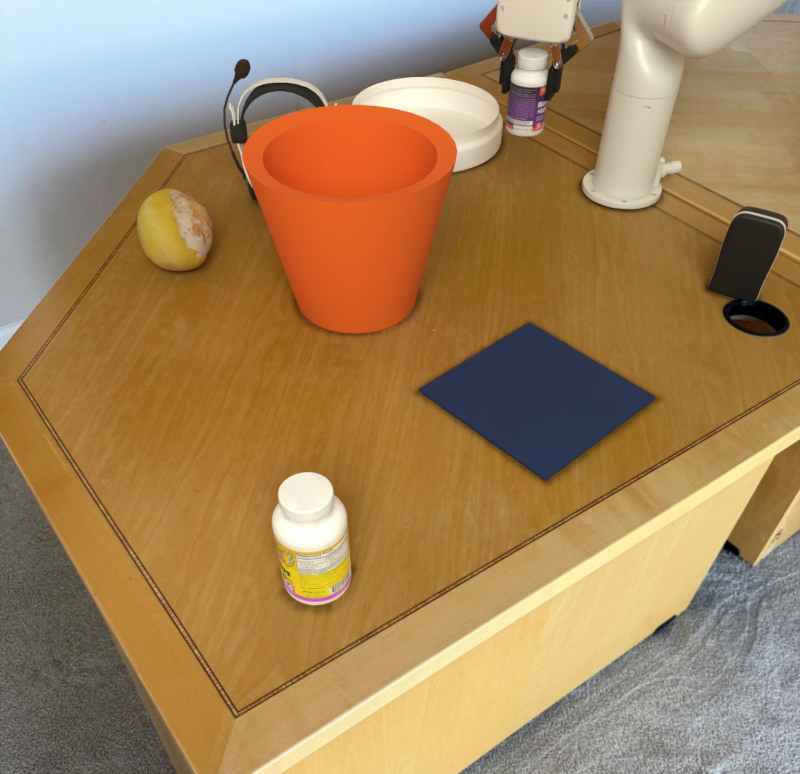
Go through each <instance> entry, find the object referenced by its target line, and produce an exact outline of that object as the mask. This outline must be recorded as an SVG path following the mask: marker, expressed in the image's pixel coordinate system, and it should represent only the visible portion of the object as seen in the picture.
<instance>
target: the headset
mask: <svg viewBox="0 0 800 774" xmlns="http://www.w3.org/2000/svg"><path fill="white" fill-rule="evenodd" d="M251 67H252V66H251V63H250V60H248V59H247V58H240V59H239V60H238V61H237V62H236V63H235V66H234V69H233V71H234V76H233V79H232V83H231V85H230V87H229V89H228V92H227V94H226V97H225V100H224V104H223V109H222V113H223V114H222V118H223V119H222V121H223V130H224V135H225V140H226V143H227V145H228V148H229V150H230V154H231V156H232V160H233V162H234V163H235V165H236V167H237V170H238V171H239V173H241V175H242V179H243V180H244V181H245V182H246V185H247V189H248V193H249V196H250V197H251V198H252V199H253V201H258V200H257V197H256V195H255V192H254V189H253V187H252V184H251V182H250V179H249V176H248V174H247V171H246V169H245V166H244V163H243V159H242V152H243V147H244V145H243V144H245V143H246V142H247V140H248V138H249V137H248V127H247V122H246V120H245V114H246V112H247V110H248V108H249V107H250V106H251V104H252V103H253V102H254V101H256V100H257V99H258V98H260V97H262V96H264V95H266V94H269V93H270V94H271V93H275V92H285V93H290V94H295V95H297V96H299V97H301V98H303V99H305V100H307V101H308V102H309V103H310V104H311V105H312V106H314V108H317V107H325V106H329V103H328V101H327V99H326V97H325V96H324V94H323V92H322V91H320V89H319V88H318V87H316V86H315V85H314V84H311V83H310V82H308V81H304V80H301V79H299V78H292V77H268V78H263V79H260V80H257V81H254V82H252V83H250V85H248V86H246V87H245V88H244V90H243V91H242V92H241V95H240V97H239V100H238V103H237V113H236V110H235V107H234V106H233V105H234V104H232V103H231V102H229V98H230V96H231V94H232V91H233V89H234V88H235V85H236V84H237V83H238V82H239V81H240V80H242V79H246V78H247V77H248V76H249V74H250V72H251ZM251 90H252V91H251ZM250 91H251V92H250ZM248 92H250V93H249V94H248V95H247V98H246V99H245V101H244V104H243V107H242V109H241V103H242V101H243V98H244V96H245V95H246V94H247V93H248ZM228 102H229V103H228ZM227 105H228V106H227ZM334 105H338V103H337V102H334V104H333V106H334ZM227 107H228V109H229V112H230V114H231V121H230V123H229V132H228V129H227V121H226V120H227V117H226V116H227V115H226V113H227V111H226V110H227ZM241 110H242V111H241ZM229 136H230V139H229ZM230 140H231V142H232V144H236V146H237V149H238V152H239V154H240V159H241V164H242V165H241V164H240V161H239V160H238V158H237V155H236V153H235V151H234V149H233V147H232V144H231V142H230Z"/></svg>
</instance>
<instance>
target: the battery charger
mask: <svg viewBox="0 0 800 774" xmlns="http://www.w3.org/2000/svg"><path fill="white" fill-rule="evenodd" d="M788 228H789V220H788V218H787V217H786V216H785V215H784V214H781V213H779V212H775V211H772V210H770V209H769V210H768V209H765V208H760V207H756V206H749V205H747V206H744V207H742V208H739V210H738V211H737V212H736V213H735V215H734V216H733V217H732V219H731V220H730V222H729V225H728V227H727V230H726V233H725V235H724V238H723V239H722V244H721V246H720V250H719V253H718V256H717V259H716V263H715V266H714V268H713V269H714V270H713V272H712V274H711V278H710V280H709V283H708V285H707V289H708V290H709V291H712V292H715V293H718V294H721V295H724V296H728V297H730V298H733V299H737V300H741V301H744V302H745V301H746V302H749V303H755V302H756V301H758V299H759V296H760V294H761V291H762V289H763V286H764V284H765V282H766V280H767V278H768V277H769V273H770V272H771V270H772V267H773V265H774V264H775V261H776V259H777V257H778V255H779V252H780V250H781V249H782V248H781V247H782V246H783V242H784V240H785V239H786V238H785V237H786V234H787V231H788Z"/></svg>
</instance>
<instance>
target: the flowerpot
mask: <svg viewBox="0 0 800 774" xmlns="http://www.w3.org/2000/svg"><path fill="white" fill-rule="evenodd" d="M324 106H325V105H324ZM247 138H248V140H247V142H246V143H244V145H243V151H242V159H243V163H244V166H245V169H246V171H247V174H248V176H249V179H250V182H251V184H252V187H253V189H254V192H255V195H256V197H257V200H256V201H257V202H258V206H259V207H260V211H261V213H262V215H263V218H264V220H265V222H266V226H267V228H268V231H269V233H270V236H271V238H272V242H273V243H274V246H275V249H276V252H277V254H278V257H279V259H280V262H281V264H282V267H283V270H284V273H285V275H286V278H287V281H288V283H289V285H290V288H291V291H292V293H293V296H294V299H295V300H296V303H297V304H296V305H297V307H298V309H299V311H300V312H301V314H302V315H303V317H305V318H306V319H307V320H308V321H309V322H310V323H313V324H314V325H315V326H318V327H319V328H322V329H325V330H328V331H331V332H336V333H342V334H353V335H354V334H368V333H374V332H380V331H382V330H386V329H388V328H391V327H393V326H395V325H397V324H399V323H401V322H402V321H403V320H404V319H406V318H407V317H408V316H409V315H410V314H411V312H412V311H413V309H414V307H415V304H416V300H417V297H418V294H419V291H420V286H421V282H422V281H423V277H424V273H425V270H426V266H427V263H428V259H429V256H430V252H431V249H432V245H433V242H434V239H435V236H436V235H435V234H436V231H437V229H438V225H439V221H440V218H441V214H442V211H443V207H444V203H445V200H446V197H447V193H448V190H449V187H450V183H451V179H452V176H453V173H454V172H453V169H454V166H455V163H456V158H457V152H458V151H457V147H456V144H455V141H454V140H453V138H452V137H451V136H450V134H449V133H448V132H447V131H446V130H444V129H443V128H442V127H441V126H440V125H438V124H436V123H434V122H432V121H430V120H429V119H427V118H424V117H422V116H419V115H416V114H414V113H410V112H406V111H402V110H398V109H394V108H387V107H381V106H370V105H352V104H337V105H334V104H333V105H328V106H325V107H317V108H316V107H312V108H308V109H303V110H299V111H294V112H291V113H288V114H285V115H282V116H280V117H278V118H275V119H273V120H271V121H269V122H267V123H265V124H263V125H262V126H261V127H259V128H257V129H256V130H255V131H254V132H252V134H251V135H250V136H249V137H247Z"/></svg>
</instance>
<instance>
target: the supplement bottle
mask: <svg viewBox="0 0 800 774" xmlns="http://www.w3.org/2000/svg"><path fill="white" fill-rule="evenodd" d="M277 499H278V503H277V504H276V506H275V508H274V510H273V513H272V516H271V528H272V533H273V538H274V543H275V548H276V553H277V558H278V559H277V560H278V564H279V568H280V572H281V579H282V582H283V586H284V588H285V590H286V592H287V593H288V594H289V595H290V597H291V598H293V599H294V600H296V601H297V602H299V603H301V604H305V605H307V606H322V605H327V604H330V603H333V602H334V601H336V600H338V599H339V598H341V597H342V596H343V595H344V594H345V593H346V592H347V590H348V588H349V586H350V584H351V582H352V561H351V550H350V538H349V526H348V525H349V524H348V523H349V522H348V513H347V509H346V507H345V505H344V503H343V502H342V501H341V500H340V498H339V497H338V496H336V495H335V493H334V487H333V485H332V482H331V481H330V480H329V478H327V477H326V476H324V475H322V474H320V473H317V472H313V471H304V472H303V471H302V472H298V473H295V474H293V475H291V476H288V477H287V478H285V479H284V480H283V481H282V483H280V486H279V487H278V491H277Z"/></svg>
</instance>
